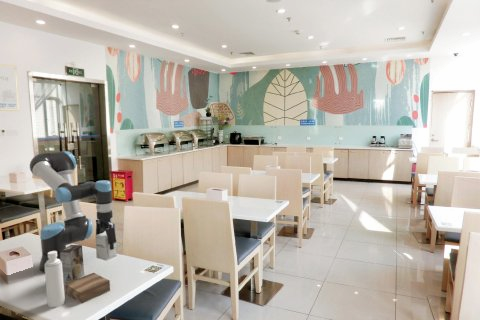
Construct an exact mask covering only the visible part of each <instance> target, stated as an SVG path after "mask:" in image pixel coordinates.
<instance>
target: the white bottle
mask: <svg viewBox="0 0 480 320" xmlns="http://www.w3.org/2000/svg"><path fill="white" fill-rule="evenodd" d="M48 258H49V260H48V261H47V262H46V263H45V264H44V266H45V272H44V274H45V275H44V277H45V287H46V298H47V299H46V301H47V306H48V308H58V307H61V306H62V305H64V304H65V302H66V298H65V297H66V296H65V295H66V294H65V282H63V270H62V262H61V260H60V259H57V251H51V252H48Z"/></svg>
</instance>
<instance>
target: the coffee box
mask: <svg viewBox="0 0 480 320" xmlns="http://www.w3.org/2000/svg"><path fill="white" fill-rule="evenodd" d="M60 260H61V262H62V270H63V282H64V283H68V282H71V281H73V280H76V279H78V278H81V277H84V276H85V267H84V265H85V264H84V254H83V244H69V245H67V246H66V248H65V249H63V250H61V251H60Z"/></svg>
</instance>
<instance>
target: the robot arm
mask: <svg viewBox="0 0 480 320" xmlns="http://www.w3.org/2000/svg"><path fill="white" fill-rule="evenodd" d="M76 167H77V161H76V158H75V156H74V154H73V153H72V152H71V151H68V150H66V151H65V150H64V151H63V150H62V151H61V150H60V151H53V152H41V153H38V154H36V155H34V156H33V158H32V159H31V160H30V163H29V170H30V172H31V173H32V174H33V176H35V177H37V178H39V179H41V180H42V181H43V182H44V183H45V184H46V185H47V186H48V187H49V188H50V189H52V191H54V198H55V200H56V202H57V203H59V204H62V207H63V211H64V214H65V219H64V220H63V222H61V221H60V222H59V221H57V222H52V223H48V224H47V225H44V226H43V227H41V230H40V236H39V239H40V245H41V247H40V248H41V258H40V262H39V265H38V266H39V271H40V272H42V273H45V266H44V264H45V263H46V262H47V261H48V260H49V258H48V252H51V251H57V259H60V251H61V250H63V249H65V248H66V247H67V246H69V245H73V244H74V243H78V242H82V241H84V240H89V238H91V236H92V235H93V229H94V228H93V222H92V220H91V219H90V218H87V216H86V215H85V214H84V213H82V209H81V205H80V200H83V199H89V198H95V203H96V206H95V207H96V219H95V223H96V226H95V235H97V234H100V233H103V232H105V231H106V234H107V236H108V242H109V243H108V256H111V255H114V243H115V242H116V243H117V234H116V235H115V233H116V230H115V226H116V223H114V222H113V223H112V221H111V219H112V218H113V201H112V200H113V198H112V196H113V195H112V194H113V193H112V183H111V181H110V180H104V179H103V180H98V181H96V182H94V181H86V182H85V183H81V184H75V183H74V182H75V181H74V178H73V174H74V172H75V169H76Z"/></svg>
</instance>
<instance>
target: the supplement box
mask: <svg viewBox="0 0 480 320" xmlns="http://www.w3.org/2000/svg"><path fill="white" fill-rule="evenodd" d="M115 235H116V236H117V233H116V232H115ZM108 243H109V242H108V236H107V234H106V231H104V232H103V233H100V234H97V235H96V234H95V250H96V251H95V254H96V255H95V256H96V259H99V260H103V261H109V260H111V259H113V258H115V257H117V241H116V242H115V243H114V255H111V256H108Z"/></svg>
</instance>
